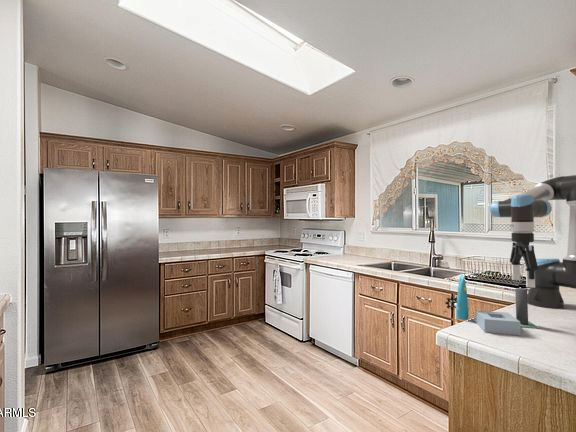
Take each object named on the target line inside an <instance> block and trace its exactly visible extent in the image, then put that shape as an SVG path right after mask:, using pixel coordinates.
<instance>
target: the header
mask: <svg viewBox="0 0 576 432" xmlns="http://www.w3.org/2000/svg"><path fill="white" fill-rule="evenodd" d="M474 313H475V316H474V317H475V323H476V324H477V326H478V327H479V328H480V330H482V331H483V333H489V332H490V333H491V334H501V333H504V334H503V335H515V336H521V327H520V321H519V320H517V319H516V317H515V316H513V315H512V314H510V313H509V312H505V311H502V312H501V311H490V310H489V311H487V310H477V309H476V310H475V312H474Z"/></svg>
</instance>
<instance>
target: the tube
mask: <svg viewBox="0 0 576 432" xmlns="http://www.w3.org/2000/svg"><path fill="white" fill-rule="evenodd" d="M459 275H460V276H459V280H458V287H457V294H456V295H457V296H456V298H457V300H456V301H457V307H456V308H455V309H456V310H455V311H456V312H455V318H456V319H457V320H461V321H468V320H469V318H470V317H469V316H468V313H469V312H468V307H469V306H468V302H469V301H468V292H467V291H468V290H467V285H466V279H465V275H464V274H463V273H460V274H459Z"/></svg>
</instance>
